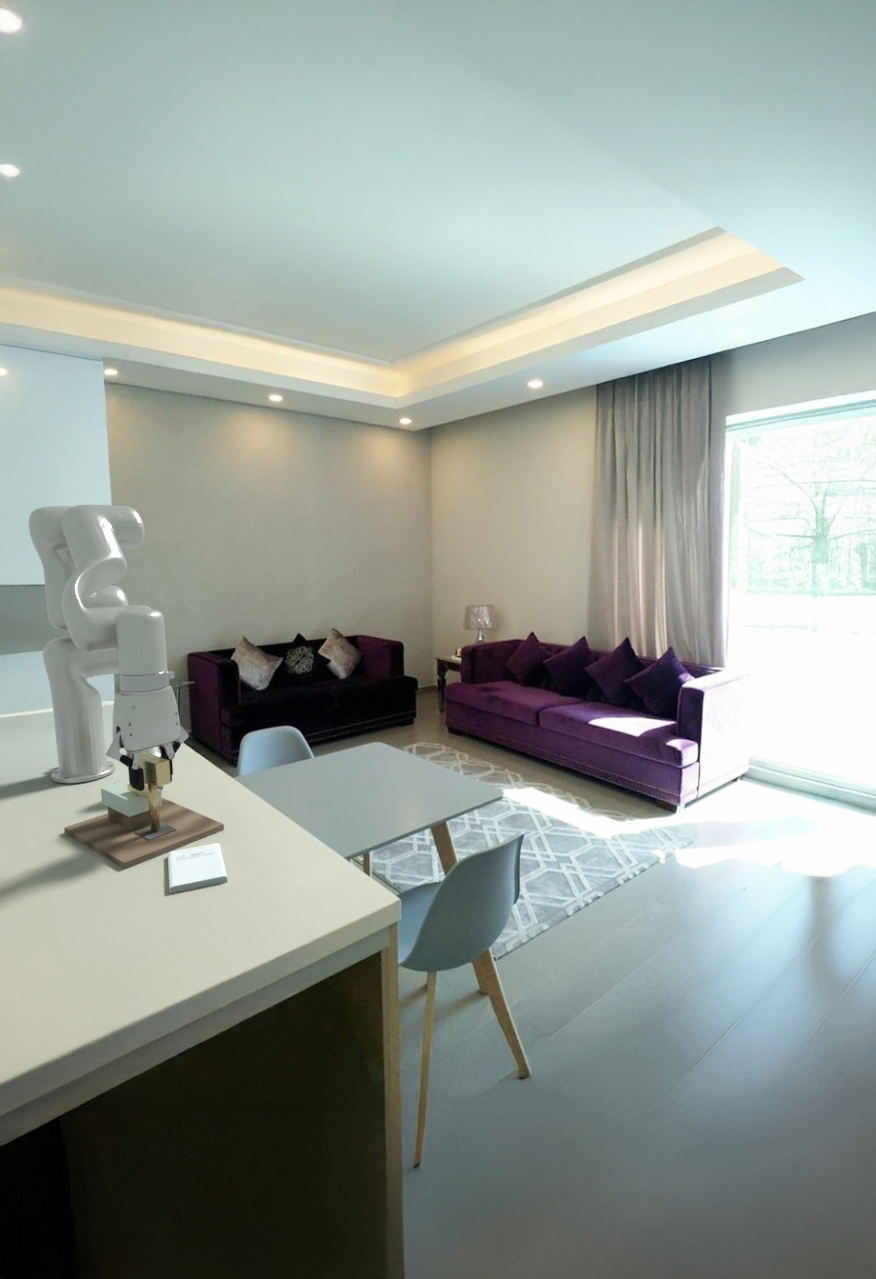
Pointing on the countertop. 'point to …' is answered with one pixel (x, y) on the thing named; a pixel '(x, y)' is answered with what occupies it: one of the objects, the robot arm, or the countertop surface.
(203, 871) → the external hard drive
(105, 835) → the base
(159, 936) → the countertop surface
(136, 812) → the mint green block
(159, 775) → the key
